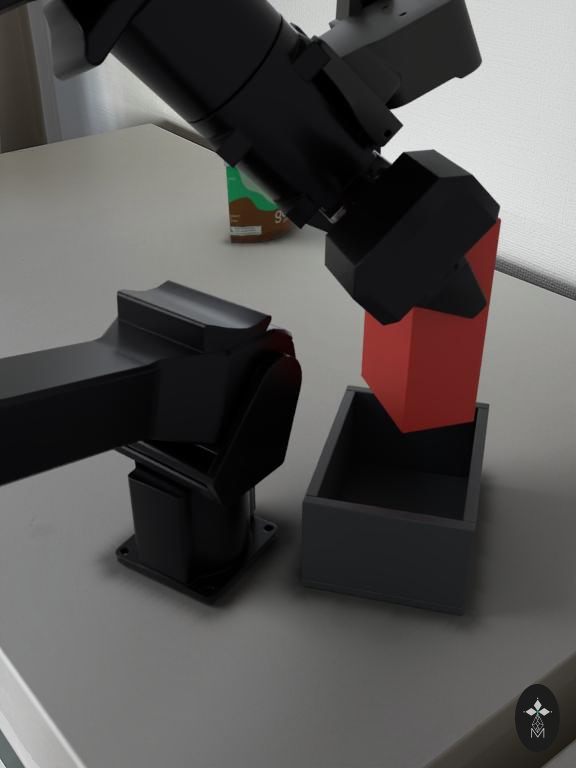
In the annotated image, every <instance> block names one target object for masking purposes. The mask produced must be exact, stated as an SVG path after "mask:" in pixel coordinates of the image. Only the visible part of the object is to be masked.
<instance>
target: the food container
mask: <svg viewBox="0 0 576 768" xmlns="http://www.w3.org/2000/svg"><path fill="white" fill-rule="evenodd" d="M223 166H224V167H225V173H226V174H225V175H226V189H227V203H228V204H227V205H228V217H229V233H230V243H238V244H239V243H241V244H244V243H245V244H247V243H258V242H259V243H260V242H265V241H270V240H274V239H276V238H278V237H281V236H284V235H286V234H288V232H290V230H291V229H292V226H293V222H292V221H291V220H290V219H289V218H287V217H286V216H285V215H284V214H283V212H282V211H281V210H280V209H279V208H278V206H277V205H276V204H275V203H274V202H273V200H272V199H271V198H270V197H269V196H268V195H267V194H266V193H265V192H263V191H262V190H261V189H260V188H259V187H258V186H257V185H256V184H255V183H254V182H252V181H251V180H250V179H249V178H248V177H247V176H246V175H245V174H244V173H242V172H241V171H240V170H239V169H238V168H237V167H236V166H235V167H234V168H232V167H231V166H230V165H229V164H227V163H226V162H225V161H224V160H223Z"/></svg>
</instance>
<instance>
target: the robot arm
mask: <svg viewBox="0 0 576 768" xmlns="http://www.w3.org/2000/svg"><path fill="white" fill-rule="evenodd" d="M36 1H37V2H38V0H0V16H2V15H4V14H7V13H10V12H11V11H13V10H16V9H18V8H21V7H22V6H24V5H27V4H30V3H33V2H36ZM335 7H336V8H335V19H333V20H331V21H329V22H328V26H329V28H330V29H329V30H327V31H325V32H324V33H322V34H321V35H319V36H318V35H315V34H313V35H312V36H311V38H310V37H309V36H308V35H307V33H306V32H304V30H303V29H302V28H301V27H299V25H297V24H296V23H294V22H292V21H291V22H289V21H288V20H287V19H286V18H285V17H284V15H283V14H282V13H281V12H280V11H279V10H278V9H277V8H276V6H274V5H273V3H272V2H271V1H270V0H47V1H46V2H44V3H43V6H42V9H41V10H42V13H43V16H44V18H45V20H46V22H47V23H46V24H47V27H48V29H49V36H50V54H51V56H50V57H51V66H52V67H51V68H52V69H51V70H52V73H53V75H54V77H55V78H56V79H57V80H59V81H61V82H68V81H69V80H71V79H73V78H76V77H78V76H80V75H83V74H85V73H86V72H89V71H90V70H94V69H95V68H97V67H99V66H102V65H103V63H104V62H105V60H106V59H107V58H108V56H109V54H111V55H112V56H113V57H114V58H115V59H116V60H117V61H119V62H120V64H122V65H123V66H124V67H125V68H126V69H127V70H128V71H129V72H131V73H132V75H133V76H135V77H136V78H137V79H139V80H140V81H141V83H143V84H144V85H145V86H146V87H147V88H148V89H150V91H152V92H153V93H154V94H155V95H156V96H157V97H158V98H159V99H161V101H163V102H164V104H166V105H167V106H168V107H169V108H170V109H172V110H173V112H175V113H176V114H177V115H178V116H179V117H180V118H181V119H182V120H184V121H185V122H186V123H187V124H188V125H189V126H190V127H191V128H193V130H195V131H196V132H197V133H198V134H199V135H200V136H202V137H203V139H204V140H205V141H206V143H207V144H208V145H209V147H210V148H211V149H212V150H213V151H214V153H215V154H216V155H217V156H219V158H220V159H221V160H223V162H224V161H225V162H226V163H227V164H229V165H230V166H231V167H232V168H234V167H235V166H236V167H237V168H238V169H239V170H240V171H241V172H242V173H244V174H245V175H246V176H247V177H248V178H249V179H250V180H251V181H252V182H254V183H255V184H256V185H257V186H258V187H259V188H260V189H261V190H262V191H263V192H265V193H266V194H267V195H268V196H269V197H270V198H271V199H272V200H273V202H274V203H275V204H276V205H277V206H278V208H279V209H280V210H281V211H282V212H283V214H284V215H285V216H286V217H287V218H289V219H290V220H291V221H292V224H294V225H295V226H296V227H297V228H298V229H300V230H302V228H304V226H306V225H307V226H310V227H312V228H315V229H317V230H319V231H321V232H325V233H326V234H325V237H324V238H325V239H324V267H325V268H326V269H327V270H328V271H329V272H330V273H331V275H332V276H333V277H334V279H335V280H336V281H337V282H338V283H339V285H340V286H341V287H342V288H343V289H344V291H346V293H347V294H348V295H349V296H350V298H351V299H352V300H353V301H354V302H355V303H356V304H357V305H359V306H360V307H361V308H362V309H363V310H364V311H365V310H366V311H367V312H368V313H369V314H370V315H371V316H373V317H374V318H375V319H376V320H377V321H378V322H379V323H380V324H382V325H383V326H385V325H389V324H393V323H397V322H400V321H401V320H402V319H403V318H404V317H405V316H406V315H407V314H408V312H409V311H410V310H411V309H412V308H413V307H419V308H424V309H429V310H433V311H437V312H442V313H446V314H451V315H455V316H460V317H464V318H469V319H473V318H475V317H476V316H477V315H478V314H479V313H480V312H481V311H482V310H483V309H484V308H485V307H486V306H487V303H488V301H487V299H486V297H485V295H484V293H483V291H482V289H481V287H480V285H479V283H478V281H477V278H476V276H475V274H474V272H473V270H472V268H471V266H470V264H469V262H468V260H467V258H466V256H465V254H466V253H467V252H468V251H469V250H470V249H471V248H472V247H473V246H474V245H475V244H476V243H477V242H478V241H479V240H480V239H481V238H482V237H483V236H484V235H485V234H486V233H487V232H488V231H489V230H490V229H491V228H492V227H493V226H494V225H495V224H496V223H497V219H498V217H499V214H500V211H501V205H500V204H499V203H498V201H497V200H496V199H495V198H494V197H493V196H492V195H491V193H490V192H489V191H488V190H487V189H486V188H485V187H484V186H483V184H482V183H481V182H480V181H479V180H478V179H477V178H476V176H475V175H474V174H472V173H471V172H470V171H468V170H466V169H465V168H463V167H462V166H460V165H459V164H457V163H456V162H454V161H452V160H451V159H450V158H448V157H446V156H445V155H443V153H440V152H438V151H437V150H436V149H433V148H432V149H421V150H409V151H408V150H407V151H402V153H400V155H399V156H398V157H397V158H396V159H395V160H394V161H393V162H390V161H389V160H388V159H387V158H386V157H384V156H383V155H382V148H385V146H386V145H387V144H388V143H390V141H391V140H392V139H393V138H394V137H395V136H396V135H397V134H398V133H399V132H400V130H401V129H402V128H403V127H404V124H403V123H402V122H401V121H400V119H398V117H397V116H396V115H395V114H394V113H393V111H392V110H396V109H399V108H402V107H404V106H407V105H409V104H410V103H412V102H414V101H416V100H418V99H419V98H421V97H423V96H425V95H426V94H428V93H430V92H432V91H433V90H435V89H437V88H439V87H440V86H442V85H444V84H446V83H447V82H450V81H451V80H453V79H455V78H457V79H460V80H461V79H464V78H466V77H468V76H469V75H471V74H473V73H474V72H475V71H477V70H478V69H479V67H481V65H482V63H483V58H482V55H481V51H480V48H479V45H478V41H477V37H476V34H475V31H474V28H473V23H472V21H471V17H470V14H469V11H468V7H467V4H466V1H465V0H336V6H335ZM116 308H117V316H116V318H115V319H114V320H113V321H112V322H111V324H110V325H109V326H108V328H107V329H106V330H105V331H104V332H103V334H102V335H101V336H100V337H98V338H96V339H93V340H88V341H83V342H77V343H73V344H69V345H62V346H58V347H54V348H53V347H52V348H48V349H42V350H37V351H31V352H27V353H21V354H15V355H11V356H6V357H2V358H1V357H0V488H2V487H4V486H5V487H6V486H8V485H11V484H13V483H16V482H20V481H23V480H26V479H29V478H33V477H35V476H38V475H41V474H43V473H47V472H49V471H53V470H56V469H59V468H63V467H66V466H68V465H72V464H74V463H77V462H80V461H83V460H86V459H89V458H92V457H95V456H99V455H102V454H105V453H108V452H110V451H115V452H117V453H119V454H120V455H123V456H125V457H126V458H129V459H130V460H132V461H134V469H133V470H131V471H130V472H129V473H128V474H127V481H128V489H129V497H130V506H131V514H132V522H133V529H134V530H133V531H134V532H133V534H132V535H131V536H130V537H129V538H127V539H126V540H125V541H123V543H121V544H120V545H119V546H118V547H117V548H116V549H115V559H116V561H117V562H118V563H119V564H122V565H124V566H126V567H128V568H130V569H132V570H134V571H136V572H138V573H141V574H143V575H145V576H147V577H149V578H151V579H153V580H155V581H157V582H160V583H162V584H164V585H166V586H168V587H170V588H172V589H173V590H174V589H175V590H177V591H178V592H180V593H183V594H185V595H186V596H188V597H191V598H193V599H195V600H197V601H199V602H201V603H203V604H207V605H209V604H214V603H216V602H217V601H219V600H220V599H221V597H222V596H223V595H224V594H225V593H226V592H227V591H228V590H229V589H230V588H231V587H232V586H233V585H234V584H235V582H236V581H237V580H238V579H239V578H240V577H241V576H242V575H243V574H244V573H245V572H246V571H247V570H248V569H249V567H250V566H251V565H252V564H253V563H254V562H255V561H256V560H257V559H258V558H259V557H260V556H261V555H262V553H263V552H264V551H265V550H266V549H267V548H268V547H269V546H270V545H271V543H273V541H274V540H276V538H277V537H278V536H279V535H278V533H279V532H278V531H279V530H278V526H277V524H275V523H274V522H271V521H269V520H266V519H264V518H261V517H259V516H257V515H255V511H256V508H257V507H256V486H257V485H258V484H259V483H261V482H262V481H264V479H266V478H267V477H268V476H270V475H271V474H272V473H273V472H275V471H276V470H277V469H279V468H280V467H281V466H282V465H283V464H284V463H285V460H286V457H287V451H288V447H289V442H290V438H291V433H292V429H293V424H294V420H295V417H296V416H295V415H296V411H297V407H298V403H299V398H300V394H301V389H302V383H303V369H302V366H301V363H300V361H299V360H298V358H297V355H296V349H295V342H294V341H293V339H294V338H293V334H292V332H291V331H290V330H287V329H286V328H284V327H281V326H278V325H275V324H272V323H271V322H272V321H273V320H272V319H273V317H272V315H271V314H267V313H265V312H262V311H260V310H256V309H253V308H250V307H247V306H245V305H242V304H239V303H236V302H234V301H231V300H228V299H225V298H222V297H219V296H216V295H213V294H211V293H208V292H204V291H202V290H199V289H196V288H193V287H191V286H188V285H185V284H183V283H180V282H179V283H178V282H176V281H173V280H170V279H168V280H166V281H164V282H163V283H161V284H159V285H158V286H156V287H154V288H151V289H150V288H149V289H147V290H135V289H125V288H124V289H118V290H117V292H116Z"/></svg>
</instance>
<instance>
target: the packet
mask: <svg viewBox="0 0 576 768" xmlns="http://www.w3.org/2000/svg"><path fill="white" fill-rule="evenodd" d="M501 225H502V219H501V218H500V217H499V216H498V219H497V223H496V224H495V225H494V226H493V227H492V228H491V229H490V230H489V231H488V232H487V233H486V234H485V235H484V236H483V237H482V238H481V239H480V240H479V241H478V242H477V243H476V244H475V245H474V246H473V247H472V248H471V249H470V250H469V251H468V252H467V253H466V254H465V256H466V258H467V260H468V262H469V264H470V266H471V268H472V270H473V272H474V274H475V276H476V278H477V281H478V283H479V285H480V287H481V289H482V291H483V293H484V295H485V297H486V299H487V301H488V303H487V306H486V307H485V308H484V309H483V310H482V311H481V312H480V313H479V314H478V315H477V316H476V317H475V318H473V319H469V318H464V317H460V316H455V315H451V314H446V313H442V312H437V311H433V310H429V309H424V308H419V307H413V308H412V309H411V310H410V311H409V312H408V314H407V315H406V316H405V317H404V318H403V319H402V320H401V321H400V322H397V323H393V324H389V325H385V326H383V325H382V324H380V323H379V322H378V321H377V320H376V319H375V318H374V317H373V316H371V315H370V314H369V313H368V312H367V311H366V310H365V309H364V316H363V317H364V319H363V336H362V337H363V338H362V352H361V353H362V354H361V355H362V356H361V372H360V373H361V374H360V376H361V378H362V379H363V381H364V382H365V383H366V385H367V386H368V388H370V389H371V390H372V392H373V393H374V394H375V396H376V397H377V398H378V400H379V401H380V403H381V404H382V405H383V407H384V408H385V409H386V411H387V412H388V414H389V415H390V416H391V418H392V419H393V421H394V422H395V423H396V425H397V426H398V427H399V429H400V430H401V432H402V433H408V432H414V431H420V430H425V429H431V428H437V427H443V426H449V425H455V424H461V423H467V422H473V421H474V414H475V407H476V402H477V399H478V391H479V384H480V377H481V376H480V375H481V369H482V363H483V362H482V361H483V355H484V349H485V341H486V335H487V328H488V327H487V326H488V319H489V312H490V305H491V299H492V291H493V283H494V277H495V276H494V275H495V270H496V269H495V268H496V263H497V262H496V261H497V255H498V249H499V248H498V247H499V242H500V241H499V240H500V232H501Z"/></svg>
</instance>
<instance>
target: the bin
mask: <svg viewBox="0 0 576 768" xmlns="http://www.w3.org/2000/svg"><path fill="white" fill-rule="evenodd" d="M489 413H490V403H488V402H487V403H486V402H479V401H476V407H475V414H474V421H473V422H467V423H461V424H455V425H449V426H443V427H437V428H431V429H425V430H420V431H414V432H408V433H402V432H401V430H400V429H399V427H398V426H397V425H396V423H395V422H394V421H393V419H392V418H391V416H390V415H389V414H388V412H387V411H386V409H385V408H384V407H383V405H382V404H381V403H380V401H379V400H378V398H377V397H376V396H375V394H374V393H373V392H372V390H371V389H370V387H366V386H357V385H350V384H348V385H347V386H346V389H345V391H344V394H343V396H342V399H341V402H340V403H339V406H338V409H337V411H336V414H335V417H334V420H333V422H332V424H331V427H330V430H329V432H328V435H327V437H326V439H325V440H326V441H325V442H324V445H323V447H322V451H321V453H320V456H319V458H318V461H317V463H316V467H315V469H314V471H313V474H312V477H311V479H310V482H309V484H308V487H307V490H306V492H305V494H304V498H303V499H302V502H301V510H302V511H301V515H302V516H301V517H302V518H301V586H302V587H306V588H311V589H317V590H323V591H329V592H333V593H337V594H338V593H339V594H343V595H349V596H354V597H359V598H360V597H361V598H366V599H371V600H377V601H383V602H388V603H393V604H398V605H399V604H400V605H403V606H408V607H409V606H410V607H413V608H414V607H415V608H420V609H425V610H429V611H430V610H431V611H434V612H435V611H437V612H441V613H447V614H451V615H452V614H453V615H458V616H463V615H464V610H465V603H466V602H465V601H466V595H467V588H468V582H469V575H470V569H471V562H472V554H473V546H474V540H475V534H476V525H477V516H478V508H479V500H480V499H479V498H480V492H481V491H480V490H481V482H482V473H483V465H484V458H485V457H484V455H485V448H486V440H487V439H486V438H487V429H488V421H489V415H490V414H489Z"/></svg>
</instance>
